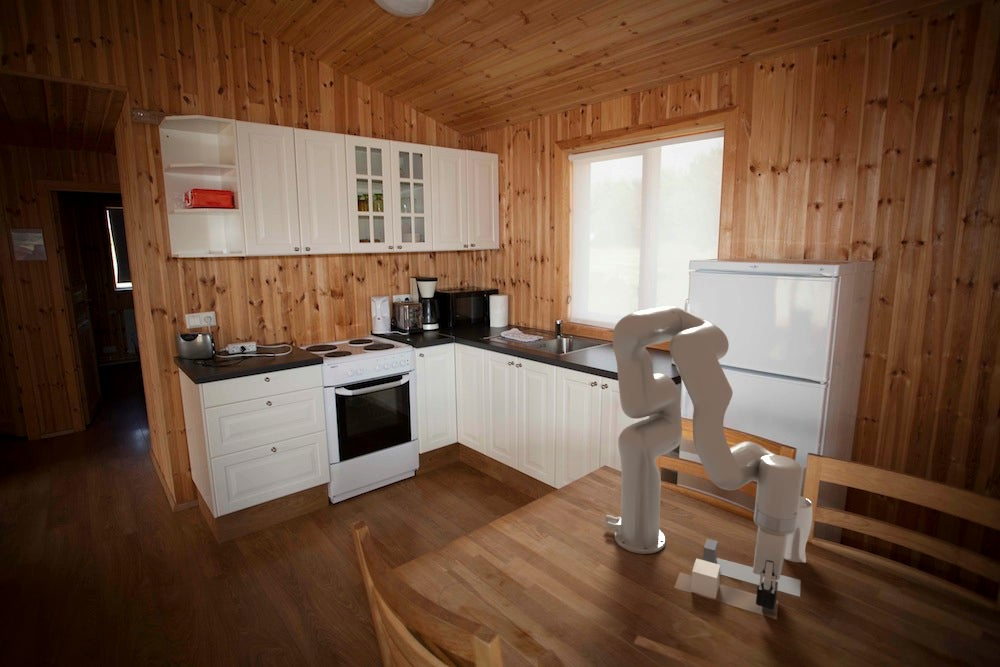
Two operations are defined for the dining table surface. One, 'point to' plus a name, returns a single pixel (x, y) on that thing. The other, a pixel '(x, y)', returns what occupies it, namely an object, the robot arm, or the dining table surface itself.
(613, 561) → the dining table surface
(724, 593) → the brown long piece
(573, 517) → the dining table surface
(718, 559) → the grey strip
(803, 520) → the beer glass
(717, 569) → the cream block
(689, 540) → the dining table surface
